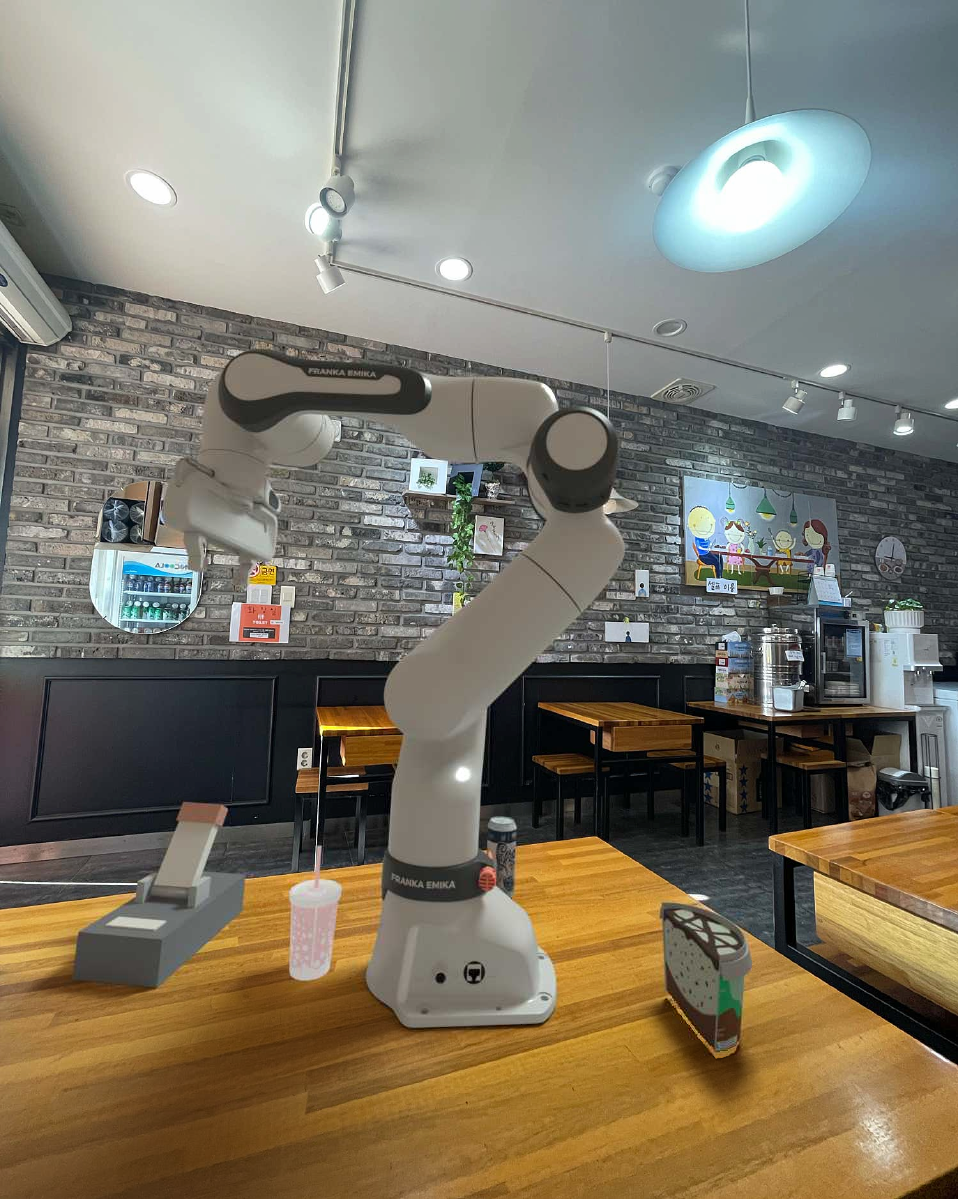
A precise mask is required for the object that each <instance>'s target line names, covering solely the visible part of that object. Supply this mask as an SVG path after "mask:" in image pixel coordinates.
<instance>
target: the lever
mask: <svg viewBox="0 0 958 1199" xmlns="http://www.w3.org/2000/svg"><path fill="white" fill-rule="evenodd" d="M228 810H229V809H228V808H227V807H226V806H225V805H224V804H218V803H203V802H192V801H191V802H190V801H189V802H188V801H183V802H182V805H181V807H180V810H179V811H178V812H179V813H178V814H177V817H176V821H178V824H177V825H176V828H175V830H174V833H173V834H172V838H171V840H170V844H169V845H168V848H167V850H166V853H165V856H164V858H163V861H162V863H161V865H160V867H159V870H158V872H157V873H158V875H157V878H156V880H155V883H154V886H153V887H152V889H151V896H157V897H169V898H181V899H188V896H189V887H190V885H192V884H193V883H195V882H196V881H198V880H199V879H200V878H201V875H202V872H203V871H204V869H205V866H206V864H207V861H208V857H209V854H210V852H211V850H212V846H213V844H214V842H215V838H216V835H217V834H218V833H217V832H218V830H219V827H223V825H224V823H225V818H226V817H227V813H228Z"/></svg>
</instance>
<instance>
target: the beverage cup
mask: <svg viewBox="0 0 958 1199" xmlns="http://www.w3.org/2000/svg"><path fill="white" fill-rule="evenodd" d="M316 848H317V849H316V860H315V861H316V862H315V873H314V879H310V880H305V881H302V882H299V883H296V884H295V885H294V886H292V887H291V888H290V890H289V899H288V900H289V902H290V936H289V937H290V938H289V943H290V944H289V970H288V971H289V974H290V976H291V977H292V978H293V979H295V980H298V981H312V980H313V981H314V980H316V979H320V978H321V977H323V976H325V975H326V974H327V973H328V972H329V969H330V966H331V959H332V953H333V952H332V951H333V944H334V943H333V942H334V936H335V935H334V934H335V929H336V923H337V921H336V920H337V913H338V907H339V900H340V899H341V896H342V890H343V887H342V885H341V884H340V883H338V882H337V881H335V880H331V879H324V878H323V879H321V878H320V870H321V856H322V845H317V847H316Z"/></svg>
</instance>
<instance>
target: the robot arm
mask: <svg viewBox="0 0 958 1199" xmlns="http://www.w3.org/2000/svg"><path fill="white" fill-rule="evenodd" d="M207 390H208V391H207V393H206V397H205V401H204V406H203V413H202V419H201V432H202V439H203V440H202V444H201V446H200V449H199V450H198V454H197V459H196V458H194V457H193V456H190V455H186V456H183V457H180V458H179V459H178V460H176V462H175V464H174V470H173V474H172V476H171V477H170V479H169V481H168V484H167V488H166V491H165V495H164V498H163V503H162V507H161V508H162V509H161V517H162V520H163V523H164V524H165V526H167V527H170V528H171V529H174V530H176V531H179V532H180V533H183V540H182V541H183V544H184V548H185V551H186V554H187V556H188V558H187V566H186V567H187V569H188V570H189V571H193V572H195V573H206V572H207V571H208V565H209V558H207V557H206V555H205V550H204V545H203V544H206V543H207V544H209V545H211V546H213V547H216V548H218V549H220V550H223V551H225V552H227V553H230V554H232V555H234V556H236V557H237V558H238V559H237V562H238V564H239V567H238V569H237V571H236V572H232V580H231V582H232V584H233V585H234V586H238V587H248V586H249V585H250V578H251V575H252V573H253V571H254V569H255V568H256V567H257V563H269V562H271V561H272V559H274V558H273V557H274V556H275V553H276V546H277V539H278V538H277V537H278V528H279V527H278V519H277V515H276V514H279V513H281V510H282V502H281V500H280V498H279V496H277V494H276V492H275V491H274V490H273V488H272V485H271V483H270V481H269V479H268V477H266V474H267V467H268V464H269V463H273V464H276V465H280V466H285V467H292V468H293V467H294V468H310V467H313V466H315V465H318V464H319V463H321V462H322V461H324V460H325V459H326V457H327V456H329V454H330V453H331V451H332V449H333V448H334V444H335V442H336V441H335V440H336V428H335V426H334V424H333V421H332V420H331V419H330V416H337V417H338V416H339V417H358V418H359V417H360V418H367V419H370V420H374V421H377V422H379V423H381V424H383V425H386V426H387V427H389V428H391V429H392V430H394V431H396V432H397V433H399V434H400V435H401V436H402V437H404V438H406V440H408V441H409V442H410V443H411V444H413V446H415V447H416V448H417V449H418V450H419V451H421V453H423V454H424V455H426V456H428V457H429V458H431V459H434V460H438V461H443V462H450V463H459V464H461V463H462V464H467V463H468V464H469V463H491V462H492V463H494V462H499V463H500V462H501V463H503V462H504V463H509V464H513V465H515V466H517V467H519V468H520V470H522V473H521V478H522V481H523V484H524V486H525V491H526V494H527V496H528V500H529V503H530V506H531V508H532V510H533V511H534V514H536V516H537V517H538V518H539V520H541V521H542V522H543V523H544V525H543V527H542V528H541V530H540V531H539V533H538V534H537V535H536V536H535V538H533V539H532V541H531V542H529V544H528V545H527V546H526V547H524V548H523V549H522V551H521V552H519V553H518V554H517V555H516V556H515V557H514V559H512V561H510V563H508V564H507V565H506V566H505V567H504V568H503V569H502V570H501V571H500V572H499V573H498V574H497V575H496V576H495V577H494V578H493V579H492V580H491V581H490V582H489V583H488V584H487V585H486V586H485V587H484V588H483V589H482V590H481V591H480V592H479V593H478V594H476V596H475V597H473V598H472V599H471V600H470V601H469V602H468V603H467V604H465V605H464V606H462V607H461V608H460V609H459V610H457V611H456V612H455V613H453V615H451V616H450V617H449V618H448V619H446V620H445V621H444V622H443V623H442V624H440V625H439V626H438V627H436V629H434V630H433V631H432V632H431V633H430V634H429V635H427V636H426V638H424V639H423V640H422V641H420V642H419V643H418V645H416V646H415V647H414V648H413V649H411V651H409V652H408V653H407V654H406V655H405V656H403V658H402V659H400V660H399V662H397V663H396V664H395V666H394V667H393V668H392V670H391V671H390V673H389V674H388V677H387V678H386V679H387V680H386V681H385V685H384V691H383V701H384V702H383V703H384V708H385V711H386V714H387V716H388V717H389V719H390V721H391V723H392V724H393V725H394V726H395V727H396V728H397V729H398V730H399V731H400V732H401V733H403V735H402V740H401V747H400V752H399V756H398V762H397V767H396V770H395V774H394V777H393V779H392V786H391V801H390V802H391V803H390V813H389V814H390V816H389V832H388V846H387V848H386V849H385V850H384V855H383V859H382V867H381V880H380V883H381V884H380V889H381V900H382V907H381V912H380V919H379V923H378V924H379V925H378V929H377V934H376V938H375V942H374V946H373V950H372V953H371V957H370V960H369V963H368V966H367V969H366V970H365V971H366V972H365V980H366V985H367V987H368V989H369V991H370V992H371V993H372V994H373V996H374V997H376V999H378V1000H380V1001H381V1002H382V1003H383V1004H385V1005H387V1006H388V1007H389V1008H390V1009H392V1010H393V1011H394V1013H395V1015H396V1018H397V1019H398V1021H399V1022H400V1023H401V1024H402V1025H403V1026H405V1027H407V1028H414V1029H416V1028H417V1029H418V1028H440V1027H441V1028H442V1027H443V1028H445V1027H448V1028H449V1027H470V1026H471V1027H472V1026H497V1025H500V1026H502V1025H521V1024H522V1025H527V1024H539V1023H540V1024H541V1023H544V1022H546V1020H547V1019H548V1018H550V1017H551V1015H552V1013H553V1011H554V1009H555V1006H556V1003H557V995H558V991H557V989H558V988H557V977H556V971H555V967H554V964H553V962H552V960H551V958H550V956H549V955H548V954H547V953H546V951H545V950H543V948H541V946H539V945H538V942H537V937H536V932H535V930H534V926H533V924H532V920H531V918H530V916H529V915H528V913H527V912H526V911H525V909H524V908H522V906H520V905H519V904H518V903H517V902H516V901H514V899H511V898H509V897H508V896H507V895H506V894H505V893H504V892H503V891H502V890H500V889H499V888H498V887H497V886H496V877H497V875H496V872H495V870H494V861H493V860H492V854H491V852H490V851H489V855H487V853H486V852H484V851H483V850H482V849H481V848H480V847H479V835H480V817H481V816H480V815H481V814H480V812H481V795H482V794H481V793H482V792H481V791H482V779H483V778H482V777H483V767H484V765H483V764H484V757H485V756H484V755H485V754H484V753H485V745H486V744H485V742H486V741H485V740H486V729H487V718H488V716H487V714H488V707H489V706H490V705H492V703H494V701H496V699H498V698H499V696H500V695H502V694H503V693H504V692H505V690H506V689H507V688H508V687H510V685H512V683H513V682H515V680H516V679H517V678H519V676H521V674H522V673H523V672H525V670H526V669H528V667H529V666H530V665H531V664H532V663H533V662H534V661H535V660H537V658H539V656H540V655H541V654H543V653H544V651H546V650H547V648H548V647H549V646H551V644H552V643H553V642H554V641H555V640H557V639H558V637H559V636H560V635H562V633H563V632H565V630H566V629H567V628H568V627H569V626H570V625H571V624H573V622H574V621H575V620H577V618H578V617H579V616H580V615H581V614H583V612H585V610H586V609H587V608H588V607H589V606H590V605H591V604H592V603H593V602H594V600H595V599H596V598H597V597H598V596H599V595H600V593H601V592H602V591H603V590H604V589H605V587H606V586H607V584H608V583H609V582H610V581H611V579H612V577H613V576H614V575H615V573H616V572H617V570H618V569H619V567H620V565H621V564H622V563H623V560H624V557H625V552H626V547H625V542H624V539H623V537H622V534H621V533H620V530H619V529H618V527H616V525H615V524H614V523H613V521H611V520H610V519H609V518H608V517H607V516H606V514H605V511H604V505H606V504H607V503H609V500H610V499H611V494H612V490H613V488H614V483H615V479H616V476H617V472H618V469H619V463H620V443H619V437H618V434H617V432H616V429H615V427H614V425H613V423H612V422H611V421H610V419H608V418H607V416H605V415H604V414H603V413H601V412H600V411H598V410H596V409H594V408H591V407H587V406H582V405H581V406H580V405H579V406H577V405H576V406H575V405H573V406H567V407H564V408H560V409H559V405H558V401H557V399H556V396H555V394H554V393H553V390H552V389H551V388H550V387H549V386H548V385H546V384H545V383H543V382H541V381H536V380H531V379H525V378H524V379H523V378H519V377H518V378H516V377H506V376H504V377H503V376H471V377H470V376H469V377H467V376H465V377H464V376H463V377H462V376H461V377H460V376H459V377H457V376H445V375H436V374H429V373H425V372H422V371H418V370H415V369H411V368H408V367H403V366H398V365H391V364H381V363H369V362H368V363H367V362H366V363H364V362H349V361H335V360H321V359H319V360H317V359H316V360H315V359H305V358H298V357H295V356H291V355H288V354H285V353H283V352H280V351H277V350H274V349H272V348H271V349H270V348H255V349H249V350H245V351H242V352H240V353H238V354H236V355H235V356H234V357H232V358H231V359H230V360H229V361H228V362H227V363H226V365H225V366H224V368H223V369H222V370H221V371H220V372H218V373H217V374H216V375H215V376H214V378H213V380H212V381H211V383H210V385H209V386H208V389H207Z"/></svg>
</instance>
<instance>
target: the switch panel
mask: <svg viewBox="0 0 958 1199" xmlns="http://www.w3.org/2000/svg"><path fill="white" fill-rule="evenodd" d="M158 873H159V872H155V871H154V872H152V873H150V874H148V875H146V876H145V877H143V878H142V879H140V880H138V881H137V883H136V892H135V896H134V897H132V898H131V899H130V900H128V901H127V902H125V903H123V904H122V905H120V906H119V907H117V908H115V909H113V910H112V911H110V912H108V913H106V914H105V915H104V916H102V917H100V918H99V919H97V920H95V921H94V922H92V923H91V924H89V925H87V926H86V927H84V928H82V929H81V930H79V931H78V932H77V937H76V938H77V939H76V946H75V955H74V956H75V957H74V962H73V970H72V971H73V972H72V976H71V980H75V981H84V982H94V983H104V984H114V985H124V986H133V987H134V986H135V987H141V988H142V987H143V988H144V987H145V988H153V989H154V988H155V989H157V988H158V987H160V986H161V985H162V984H163V983H164V982H165V981H166V980H167V979H168V978H170V976H172V975H173V974H174V973H175V972H176V971H177V970H179V969H180V968H181V967H182V966H183V965H185V963H186V962H188V960H190V959H191V958H192V957H193V956H194V955H195V954H196V953H197V952H198V951H199V950H201V949H202V948H203V947H204V946H206V944H207V943H209V941H211V940H212V939H213V938H214V937H216V935H217V934H218V933H220V932H221V931H222V930H223V929H224V928H225V927H227V926H228V925H229V924H230V923H231V922H232V921H233V920H234V919H235V918H237V916H239V915H240V914H241V913H243V907H244V906H243V905H244V904H243V903H244V896H245V895H244V894H245V884H246V874H241V873H240V874H239V873H230V872H229V873H228V872H217V871H215V872H214V871H206V870H205V871H204V870H203V872H202V875H201V878H200V879H199V880H198V881H196V882H195V883H193V884H192V885H190V887H189V896H188V899H181V898H169V897H157V896H151V889H152V887H153V886H154V883H155V880H156V878H157V875H158Z"/></svg>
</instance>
